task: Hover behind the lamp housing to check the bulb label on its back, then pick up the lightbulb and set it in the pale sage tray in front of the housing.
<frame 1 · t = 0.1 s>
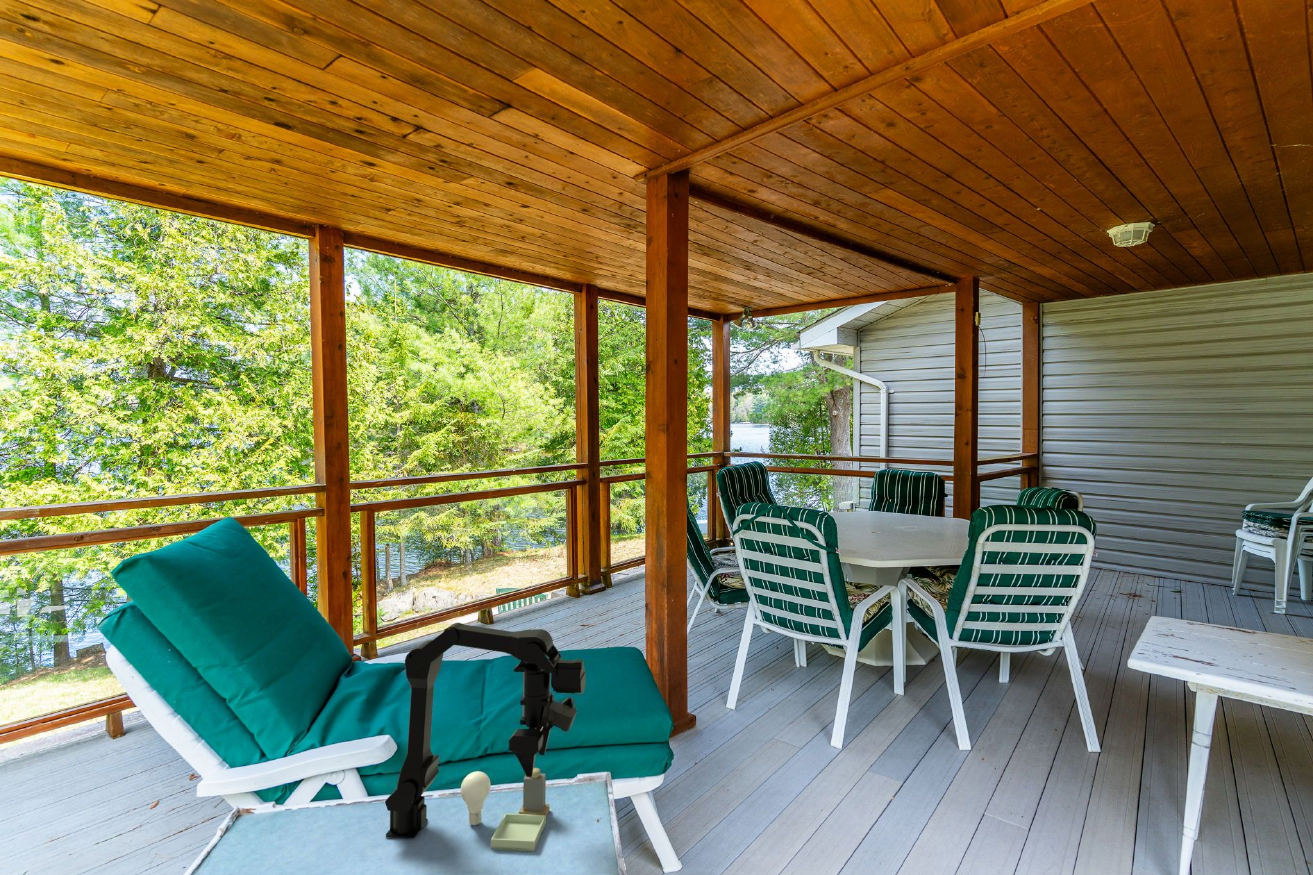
hand: (536, 765, 128), 15 cm above the table, tool pointing down, fingers open, 9 cm apart
lightbulb: (475, 824, 132), on the table
tray: (519, 836, 127), on the table
lamp housing: (534, 814, 135), on the table
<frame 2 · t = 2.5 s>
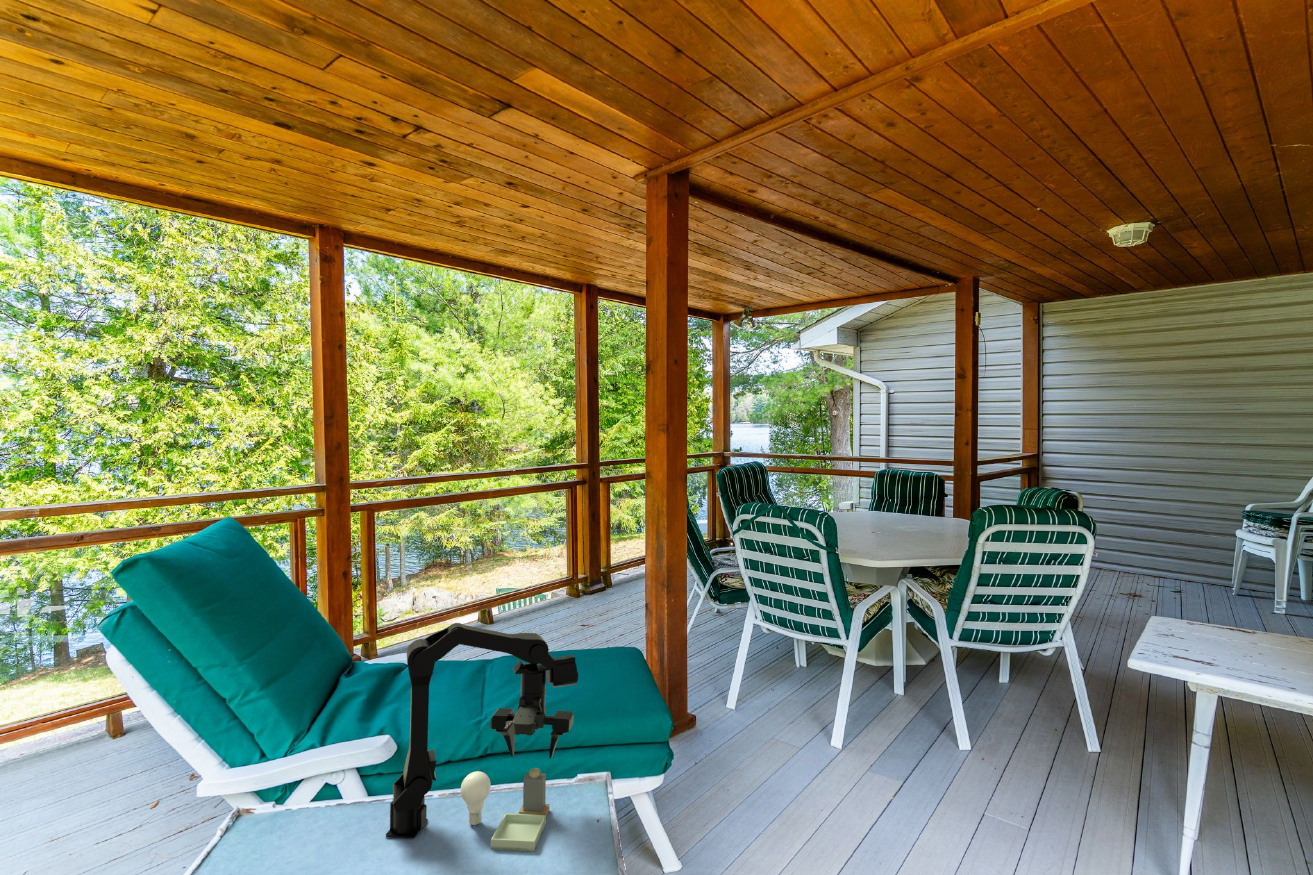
hand: (531, 756, 141), 10 cm above the table, tool pointing down, fingers open, 9 cm apart
nothing on the table moved.
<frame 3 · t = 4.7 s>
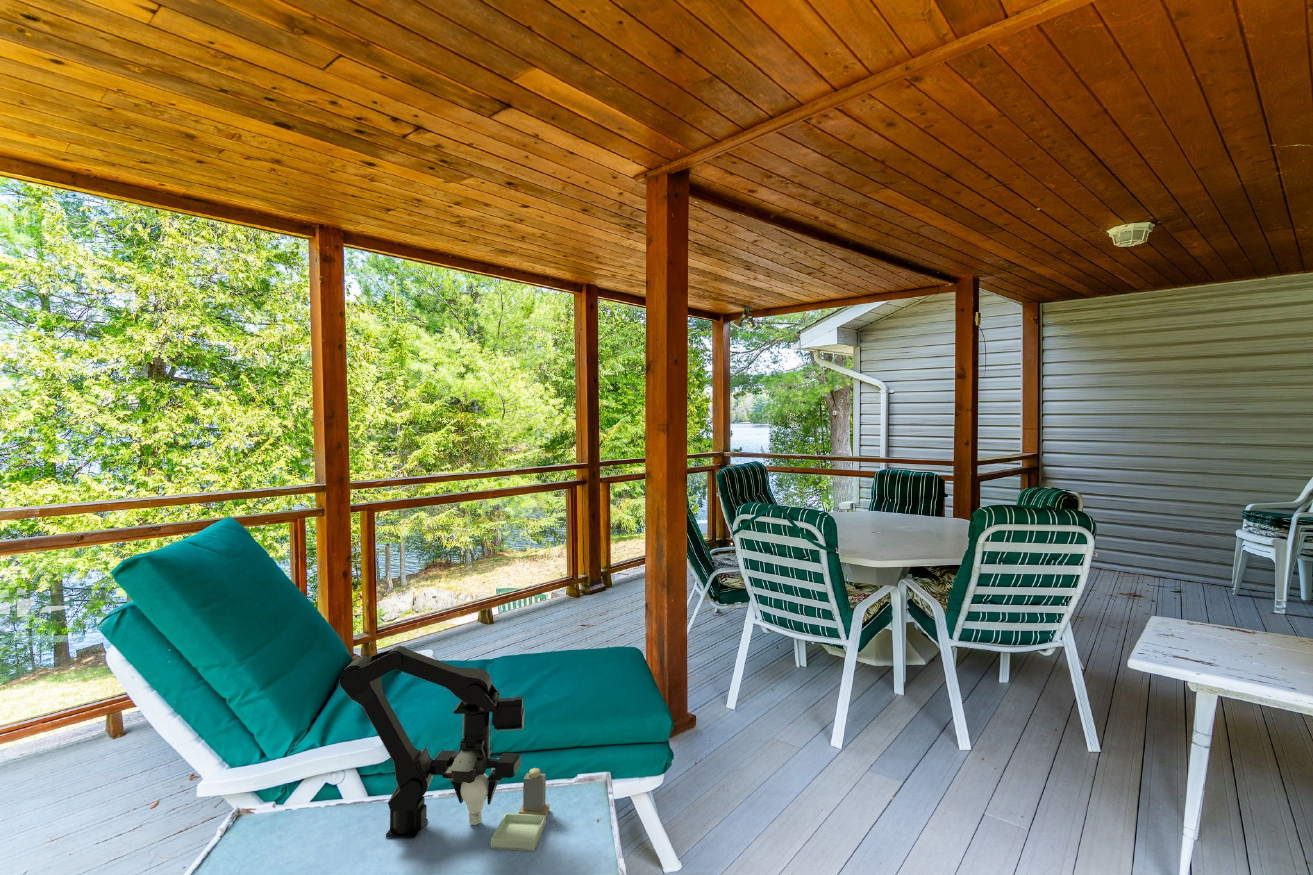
hand: (475, 803, 132), 5 cm above the table, tool pointing down, fingers closed on lightbulb, 6 cm apart
lightbulb: (475, 824, 132), on the table, touching gripper
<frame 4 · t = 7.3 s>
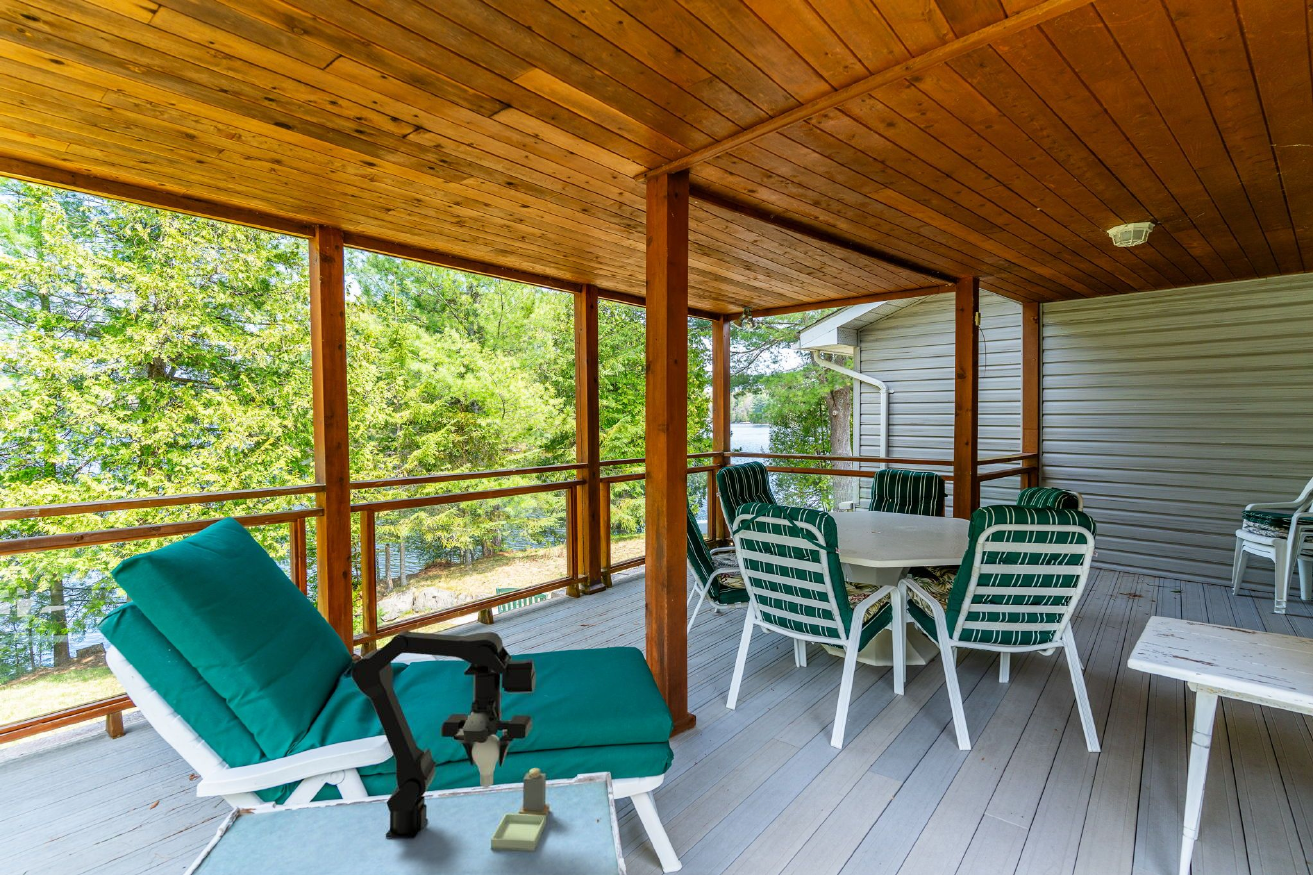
hand: (486, 765, 131), 13 cm above the table, tool pointing down, fingers closed on lightbulb, 6 cm apart
lightbulb: (486, 787, 131), point 8 cm above the table, touching gripper
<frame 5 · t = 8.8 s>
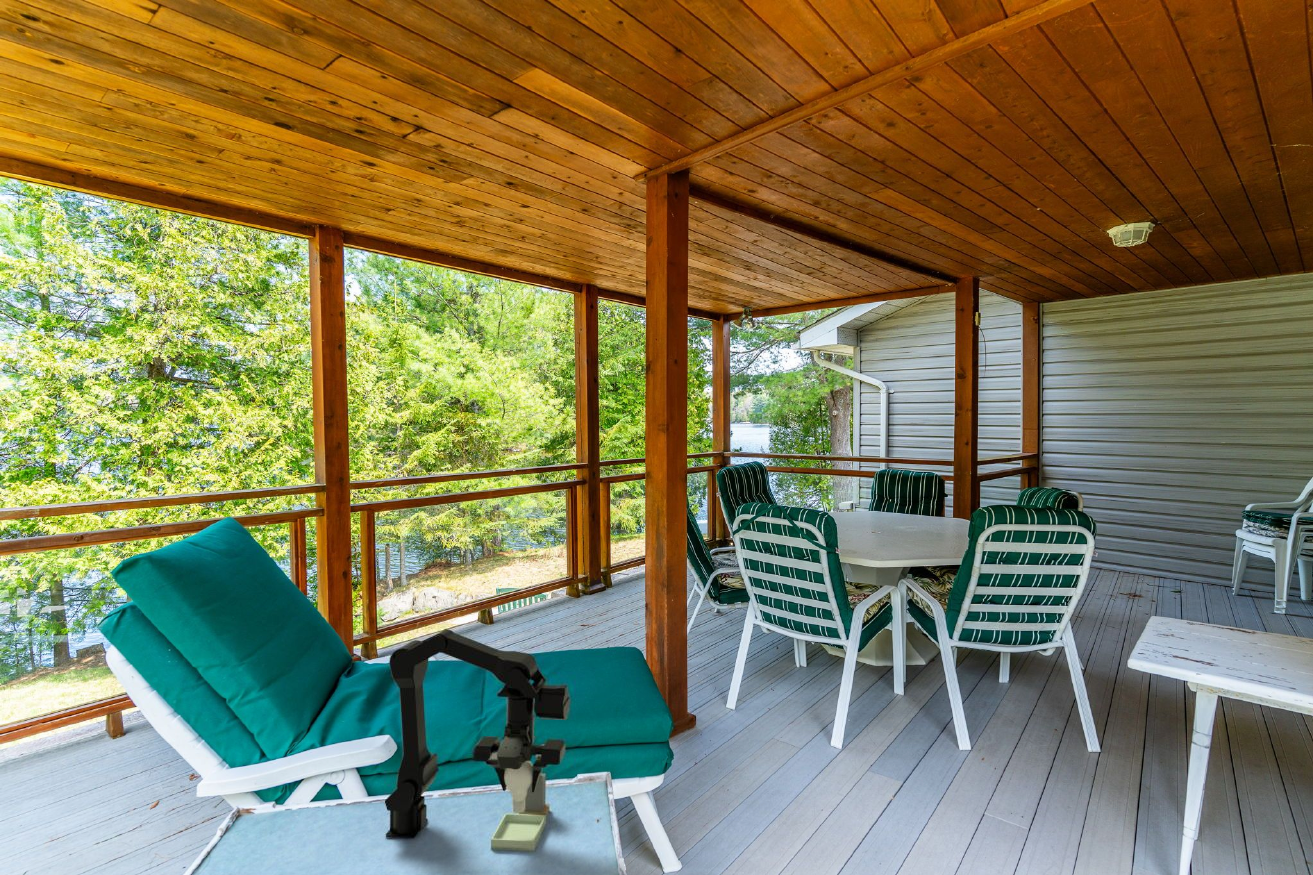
hand: (519, 790, 128), 10 cm above the table, tool pointing down, fingers closed on lightbulb, 6 cm apart
lightbulb: (518, 813, 128), point 5 cm above the table, touching gripper
when the fingers open (6 cm above the table, at t = 10.0 s): lightbulb stays where it is, resting on tray.
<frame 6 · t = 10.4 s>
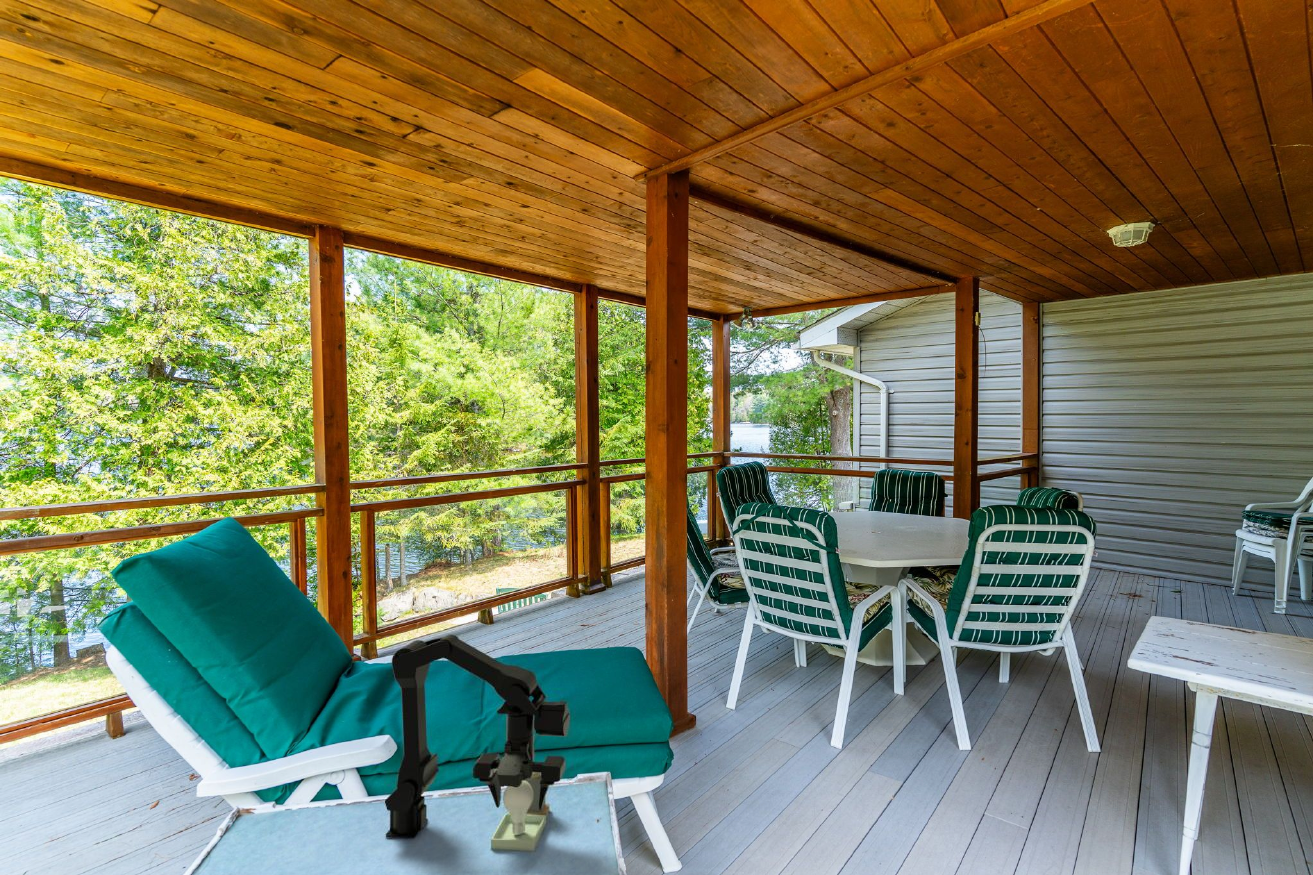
hand: (519, 807, 128), 6 cm above the table, tool pointing down, fingers open, 9 cm apart
lightbulb: (518, 834, 127), resting on tray
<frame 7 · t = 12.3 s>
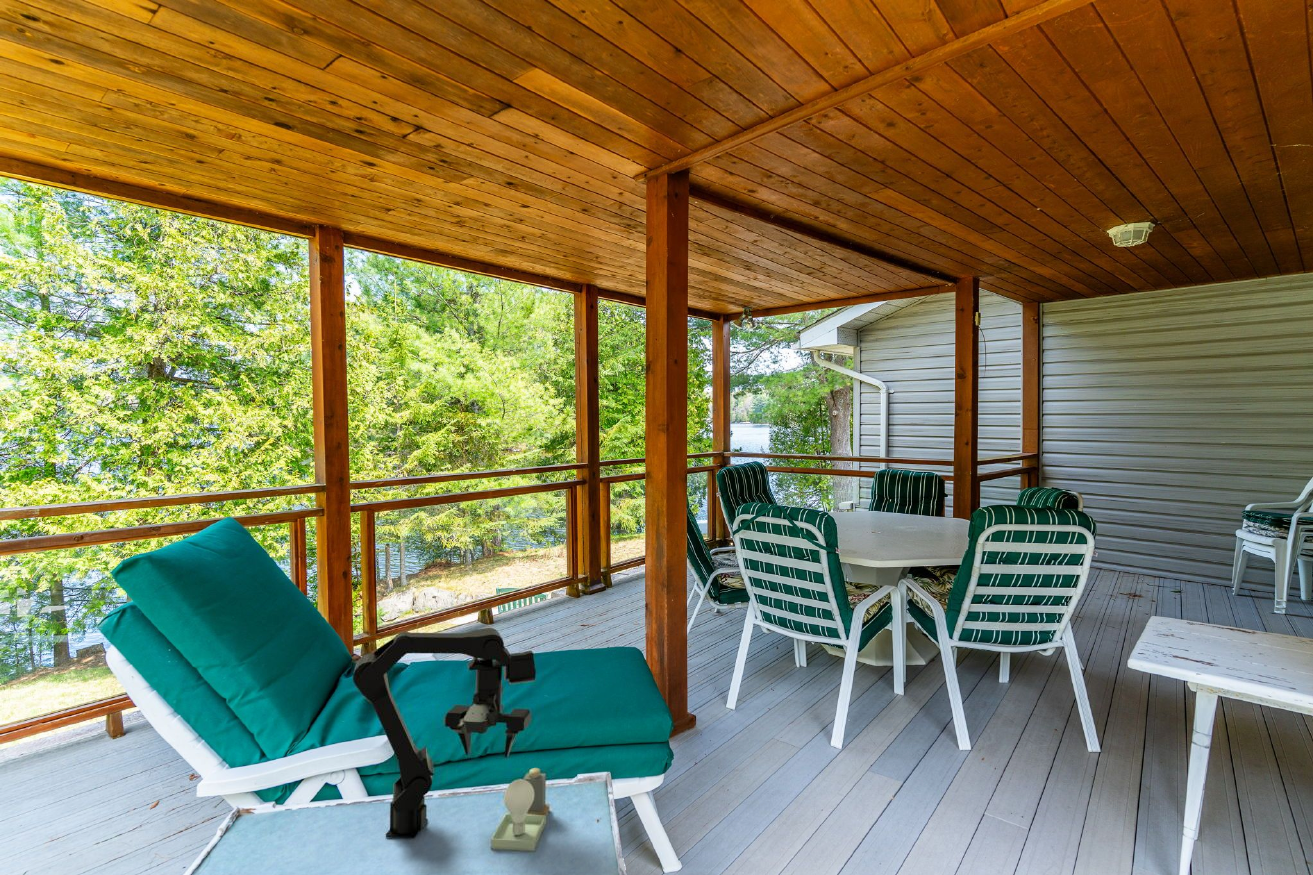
hand: (487, 755, 137), 13 cm above the table, tool pointing down, fingers open, 9 cm apart
nothing on the table moved.
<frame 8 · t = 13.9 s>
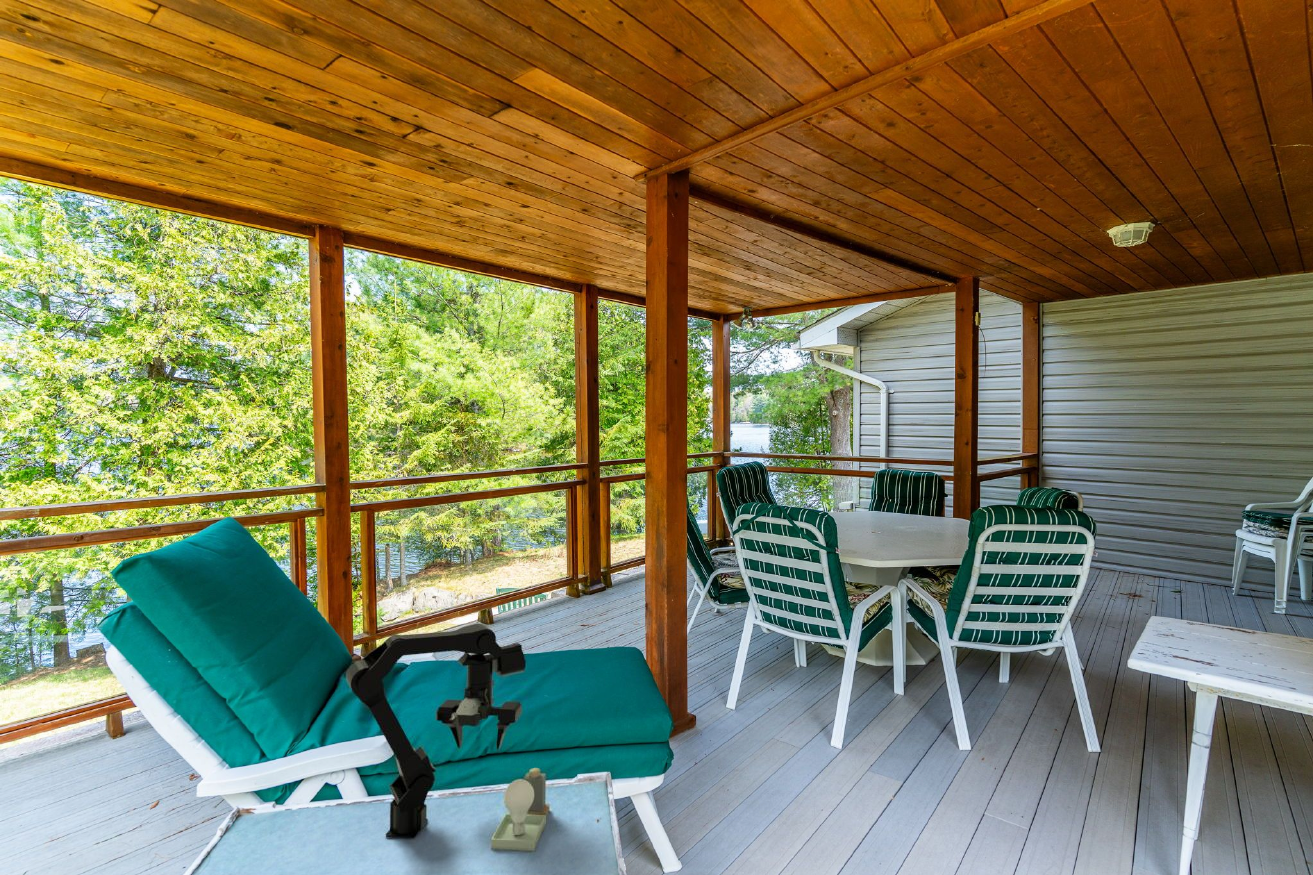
hand: (479, 748, 139), 13 cm above the table, tool pointing down, fingers open, 9 cm apart
nothing on the table moved.
at the end: lightbulb 0.1 cm off-centre on the tray, point 0.3 cm above the tray's base; the gripper is holding nothing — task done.
